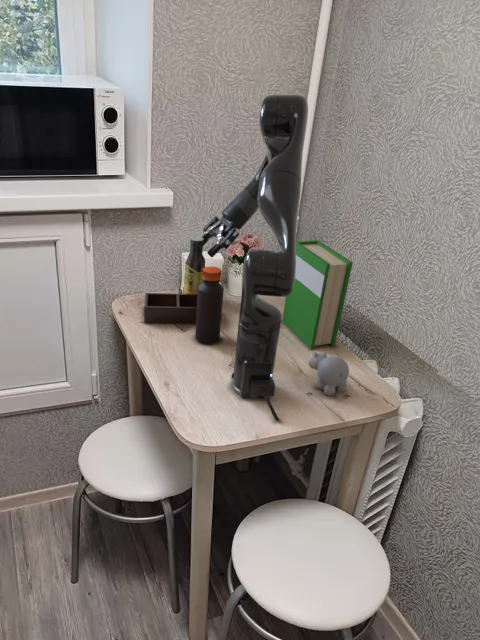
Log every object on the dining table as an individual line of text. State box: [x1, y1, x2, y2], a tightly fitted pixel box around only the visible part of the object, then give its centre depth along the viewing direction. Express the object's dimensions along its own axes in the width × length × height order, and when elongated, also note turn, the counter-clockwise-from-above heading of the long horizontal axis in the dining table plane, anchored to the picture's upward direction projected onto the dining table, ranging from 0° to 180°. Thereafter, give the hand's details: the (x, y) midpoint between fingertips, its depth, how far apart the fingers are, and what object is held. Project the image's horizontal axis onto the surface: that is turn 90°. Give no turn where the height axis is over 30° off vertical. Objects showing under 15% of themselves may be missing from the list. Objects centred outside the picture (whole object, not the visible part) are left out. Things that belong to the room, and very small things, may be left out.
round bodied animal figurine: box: [308, 349, 350, 397], centre depth 125 cm, size 7×12×8 cm, turn 24°
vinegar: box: [194, 265, 225, 345], centre depth 139 cm, size 7×7×20 cm
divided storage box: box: [143, 292, 198, 325], centre depth 154 cm, size 10×19×5 cm, turn 92°
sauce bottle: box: [182, 235, 206, 294], centre depth 161 cm, size 7×6×20 cm
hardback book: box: [281, 239, 354, 350], centre depth 143 cm, size 18×7×24 cm, turn 18°
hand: (203, 250), depth 158 cm, fingers open, 8 cm apart
